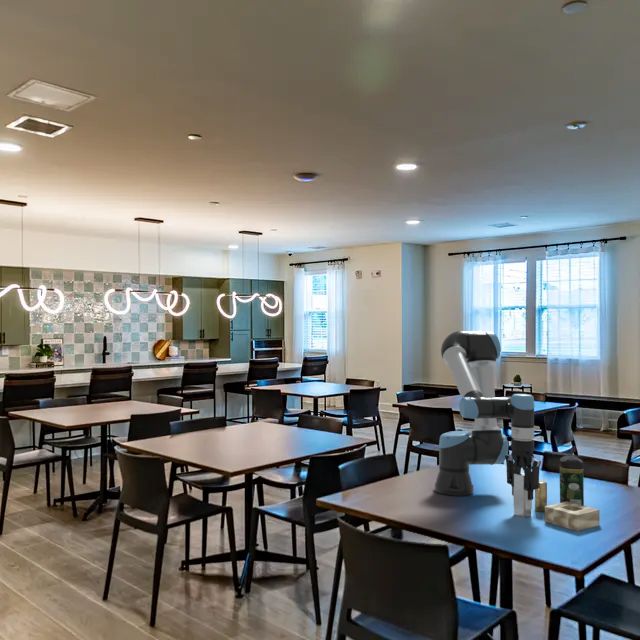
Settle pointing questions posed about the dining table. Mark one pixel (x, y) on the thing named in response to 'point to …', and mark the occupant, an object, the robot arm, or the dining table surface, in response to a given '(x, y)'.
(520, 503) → the square bit
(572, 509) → the socket block
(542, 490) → the round bit
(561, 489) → the coffee jar
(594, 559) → the dining table surface
